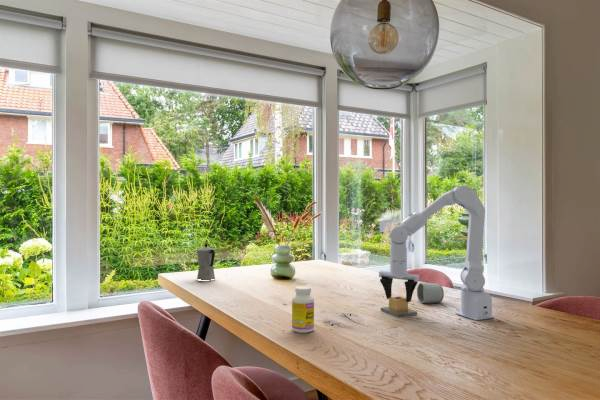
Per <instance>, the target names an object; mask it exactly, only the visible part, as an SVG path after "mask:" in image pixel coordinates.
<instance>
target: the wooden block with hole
mask: <svg viewBox="0 0 600 400" xmlns="http://www.w3.org/2000/svg"><path fill="white" fill-rule="evenodd" d="M388 307H389V309H391V310H394V311H396V312H400V311H407V310H408V309H409V302H407V301H406V297H405V296H391V297H389V299H388Z"/></svg>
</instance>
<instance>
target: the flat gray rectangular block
mask: <svg viewBox="0 0 600 400" xmlns="http://www.w3.org/2000/svg"><path fill="white" fill-rule="evenodd" d="M380 312H383V313H385V314H386V313H387V314H389V315H390V316H393V317H396V318H402V317H408V316H417V315H418V311H416V310H413V309H410V308H408V310H407V311H400V312H396V311H394V310H391V309H389V306H384V307H383V306H382V307H380Z"/></svg>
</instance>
